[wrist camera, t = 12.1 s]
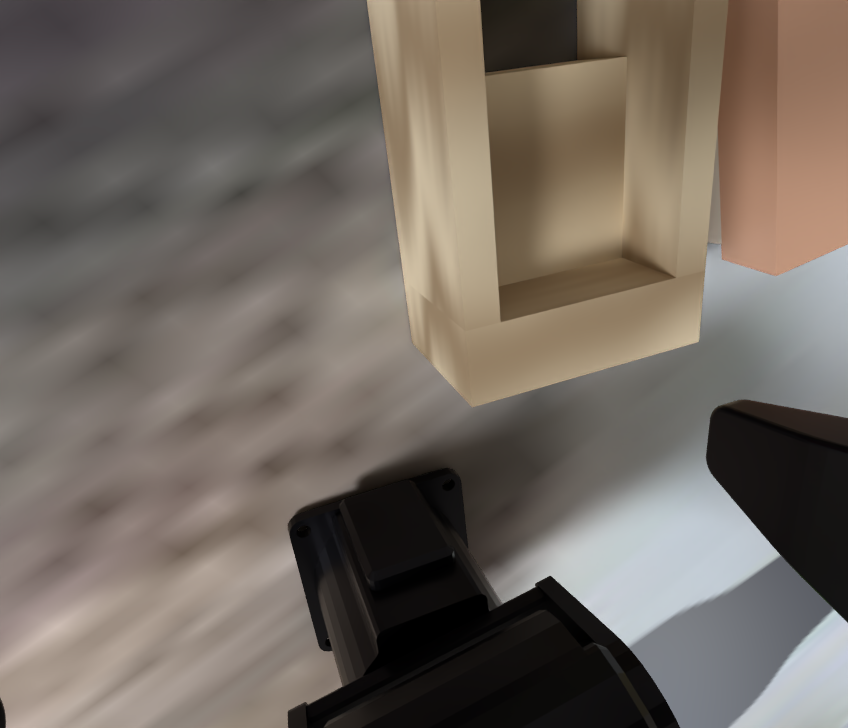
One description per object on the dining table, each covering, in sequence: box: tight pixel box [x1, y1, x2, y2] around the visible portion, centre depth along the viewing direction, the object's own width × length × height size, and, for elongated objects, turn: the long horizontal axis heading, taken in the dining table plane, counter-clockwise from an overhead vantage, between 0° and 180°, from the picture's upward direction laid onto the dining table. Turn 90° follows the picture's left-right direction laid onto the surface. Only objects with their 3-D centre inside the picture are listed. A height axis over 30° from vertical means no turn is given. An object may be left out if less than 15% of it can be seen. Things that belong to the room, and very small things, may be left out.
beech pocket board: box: [367, 0, 729, 407], centre depth 16 cm, size 16×8×5 cm, turn 6°
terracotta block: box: [718, 0, 848, 276], centre depth 21 cm, size 9×4×2 cm, turn 15°
